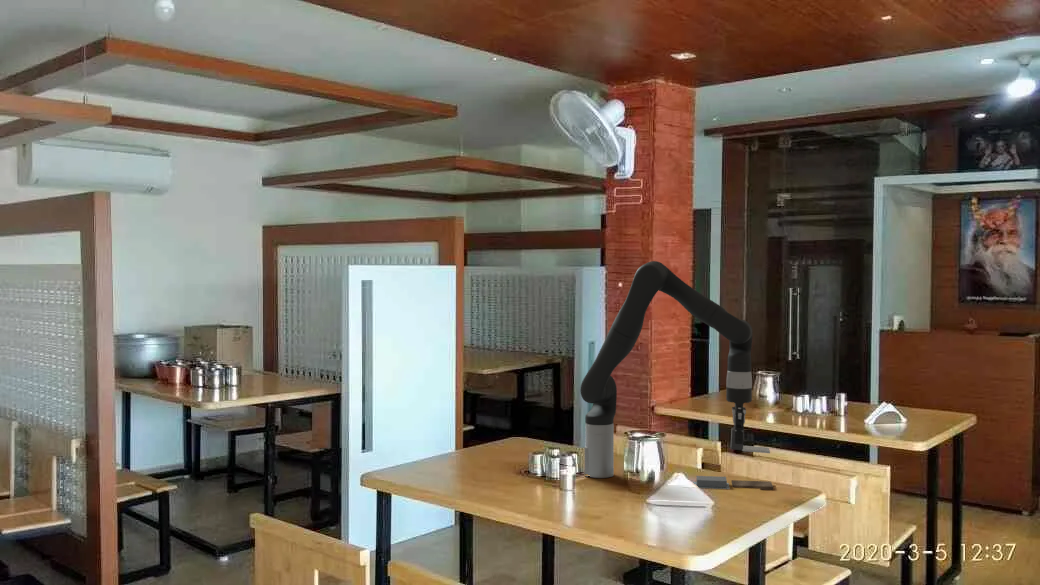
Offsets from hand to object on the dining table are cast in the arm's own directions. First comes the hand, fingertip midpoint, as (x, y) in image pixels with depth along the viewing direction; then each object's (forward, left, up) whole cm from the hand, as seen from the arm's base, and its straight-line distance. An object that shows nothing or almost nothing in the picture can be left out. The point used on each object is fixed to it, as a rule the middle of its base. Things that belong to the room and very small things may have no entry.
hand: (738, 442), depth 270 cm
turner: (+3, 0, -2) cm, 4 cm away
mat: (-10, +4, -15) cm, 18 cm away
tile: (-12, +4, -13) cm, 19 cm away
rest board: (+4, +6, -15) cm, 17 cm away
